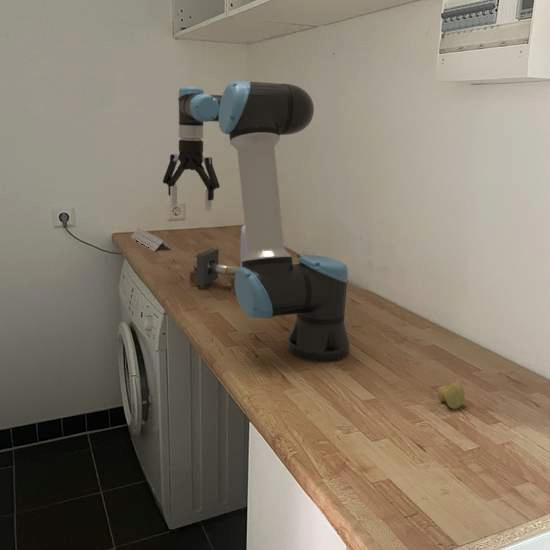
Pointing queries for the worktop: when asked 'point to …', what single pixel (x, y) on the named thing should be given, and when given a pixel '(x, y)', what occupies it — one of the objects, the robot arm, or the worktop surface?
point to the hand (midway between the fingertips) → (190, 208)
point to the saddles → (194, 284)
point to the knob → (452, 395)
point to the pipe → (220, 268)
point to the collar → (206, 266)
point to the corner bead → (148, 236)
